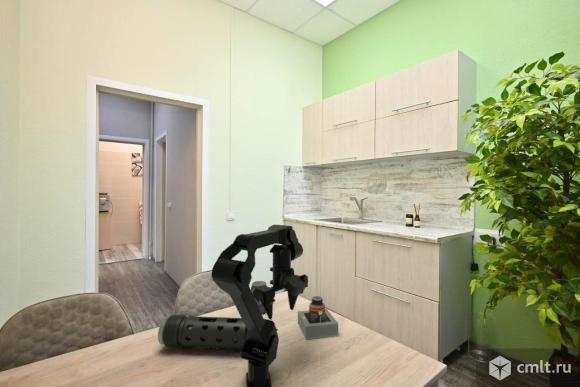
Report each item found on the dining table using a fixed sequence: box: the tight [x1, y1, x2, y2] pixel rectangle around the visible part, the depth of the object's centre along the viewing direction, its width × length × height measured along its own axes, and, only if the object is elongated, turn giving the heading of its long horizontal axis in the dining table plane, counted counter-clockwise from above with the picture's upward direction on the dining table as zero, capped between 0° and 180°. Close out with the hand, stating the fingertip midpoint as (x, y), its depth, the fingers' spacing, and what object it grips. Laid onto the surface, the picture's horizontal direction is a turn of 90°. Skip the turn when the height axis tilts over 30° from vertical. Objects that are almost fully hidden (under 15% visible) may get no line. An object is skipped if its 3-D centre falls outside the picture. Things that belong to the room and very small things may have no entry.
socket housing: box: [297, 308, 339, 340], centre depth 100 cm, size 12×12×5 cm
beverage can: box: [250, 280, 267, 314], centre depth 114 cm, size 7×7×12 cm
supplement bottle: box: [308, 295, 326, 324], centre depth 100 cm, size 6×6×11 cm
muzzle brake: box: [157, 314, 247, 351], centre depth 88 cm, size 10×28×10 cm, turn 87°
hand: (281, 314), depth 84 cm, fingers open, 9 cm apart
